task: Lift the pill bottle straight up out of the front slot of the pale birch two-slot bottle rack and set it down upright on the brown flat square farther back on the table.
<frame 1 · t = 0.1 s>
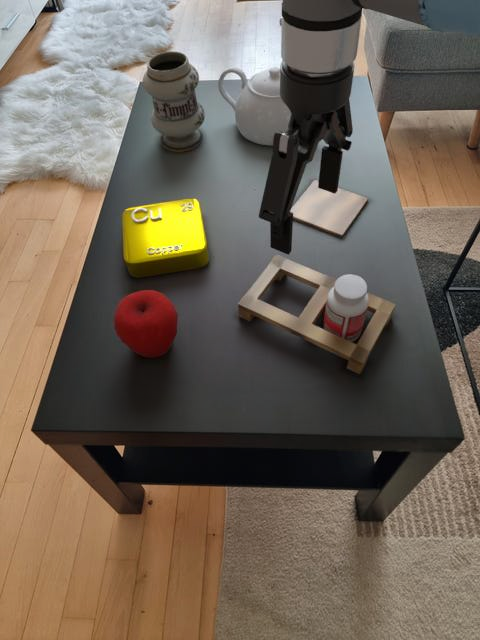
hand: (305, 218, 66), 20 cm above the table, tool pointing down, fingers open, 13 cm apart
pill bottle: (341, 329, 79), on the table
bottle rack: (314, 316, 80), on the table
teapot: (271, 127, 113), on the table
brown flat square: (327, 208, 95), on the table
apothecary jar: (181, 139, 112), on the table
apple: (155, 344, 79), on the table
element tile: (167, 245, 92), on the table
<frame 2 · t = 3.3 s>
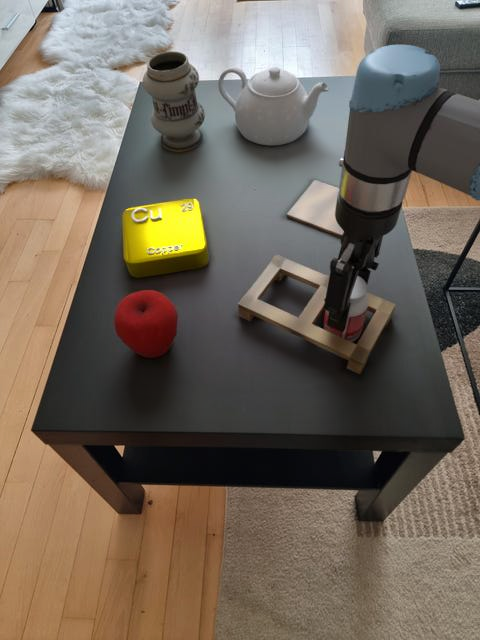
hand: (345, 311, 75), 5 cm above the table, tool pointing down, fingers closed on pill bottle, 6 cm apart
pill bottle: (341, 329, 79), on the table, touching gripper
everything else where it was.
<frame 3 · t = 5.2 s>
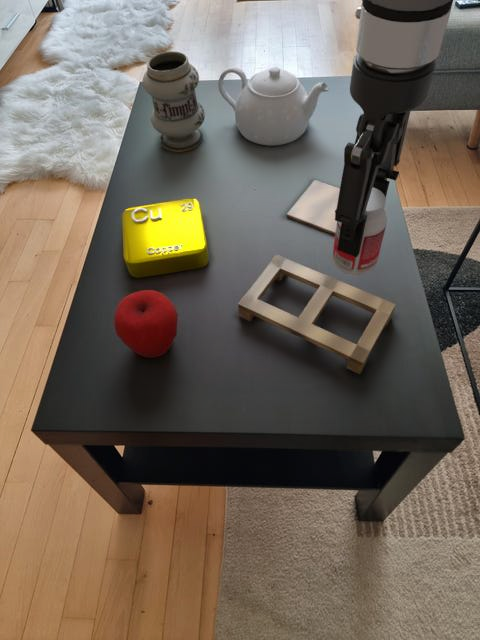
hand: (359, 234, 63), 20 cm above the table, tool pointing down, fingers closed on pill bottle, 6 cm apart
pill bottle: (353, 261, 67), point 15 cm above the table, touching gripper
everything else where it was.
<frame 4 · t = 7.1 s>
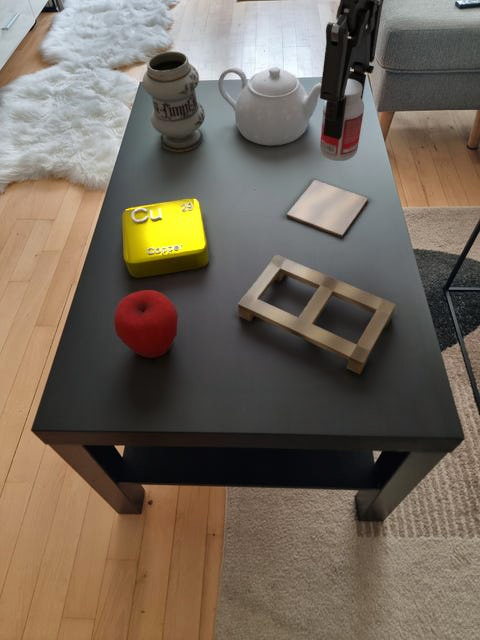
hand: (341, 124, 76), 21 cm above the table, tool pointing down, fingers closed on pill bottle, 6 cm apart
pill bottle: (338, 152, 80), point 16 cm above the table, touching gripper
everything else where it was.
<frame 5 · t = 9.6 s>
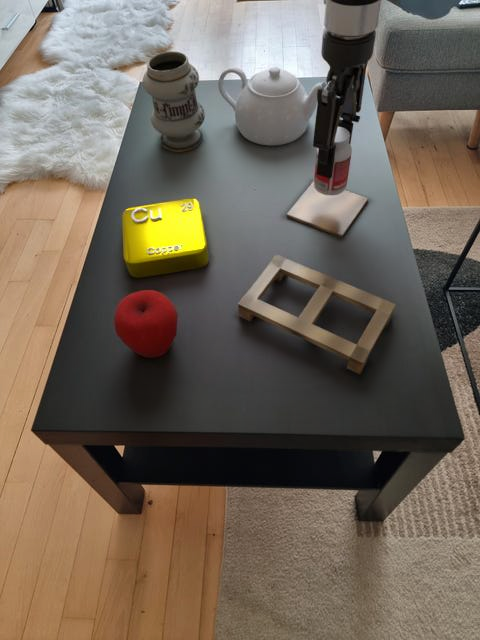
hand: (332, 164, 87), 10 cm above the table, tool pointing down, fingers closed on pill bottle, 6 cm apart
pill bottle: (329, 187, 91), point 5 cm above the table, touching gripper
everything else where it was.
when the fingers open (5 cm above the table, at t = 11.2 s): pill bottle stays where it is, resting on brown flat square.
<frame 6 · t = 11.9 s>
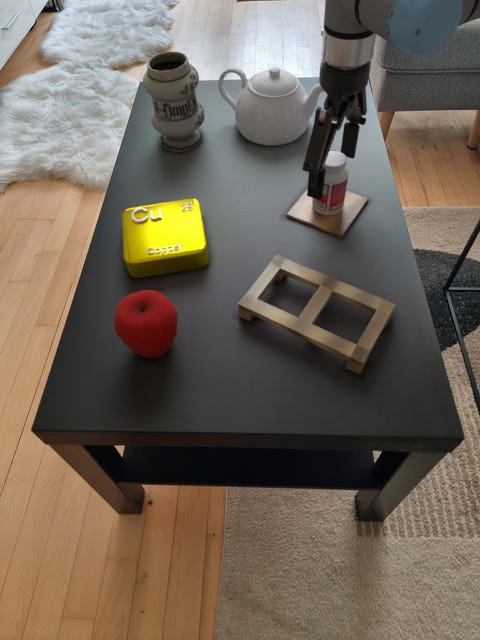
hand: (331, 175, 89), 8 cm above the table, tool pointing down, fingers open, 13 cm apart
pill bottle: (327, 206, 95), resting on brown flat square
everything else where it was.
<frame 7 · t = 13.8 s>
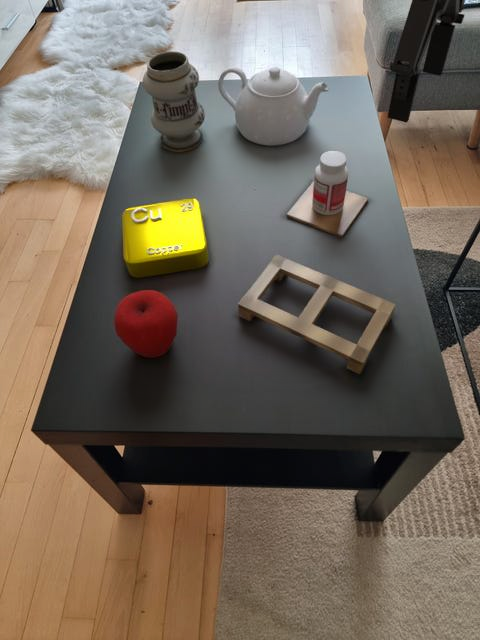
hand: (415, 94, 67), 28 cm above the table, tool pointing down, fingers open, 13 cm apart
nothing on the table moved.
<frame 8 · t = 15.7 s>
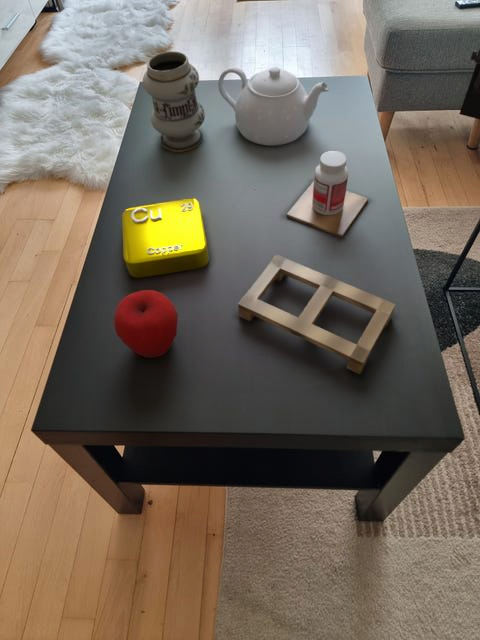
nothing on the table moved.
at the end: pill bottle inside the target area on the brown flat square (0.0 cm from its centre), point 0.4 cm above the brown flat square's base; pill bottle tilted 0°; the gripper is holding nothing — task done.
